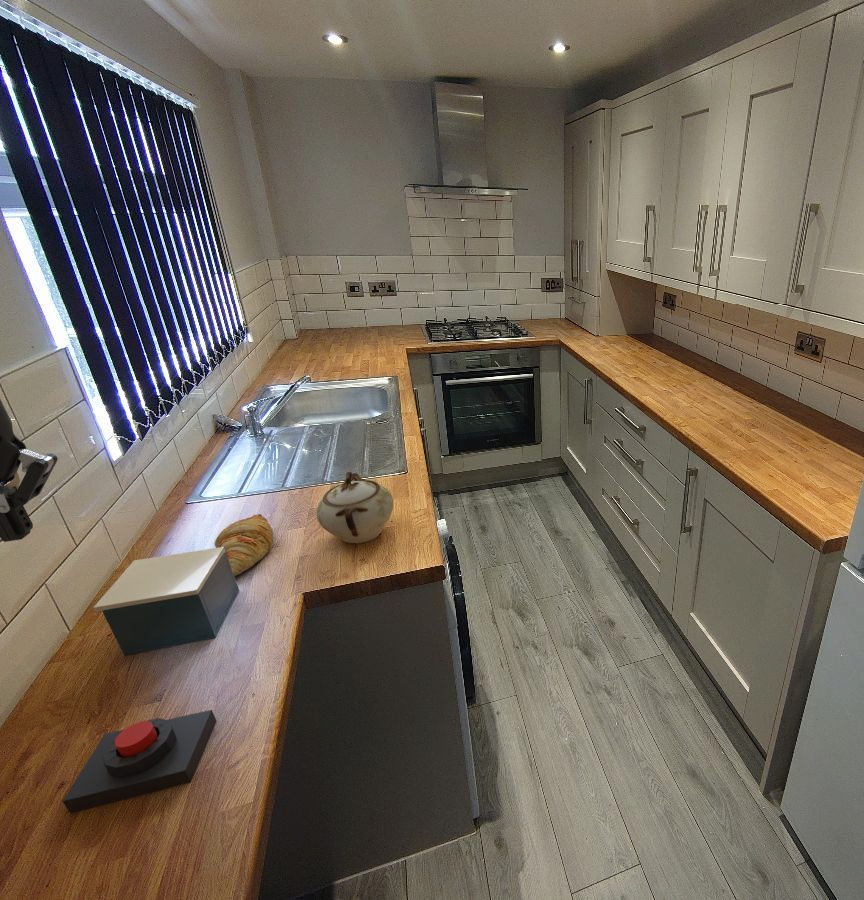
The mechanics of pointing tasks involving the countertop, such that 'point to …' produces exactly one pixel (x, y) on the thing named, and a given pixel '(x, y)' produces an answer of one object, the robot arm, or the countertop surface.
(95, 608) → the box lid
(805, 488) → the countertop surface
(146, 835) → the countertop surface
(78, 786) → the switch block
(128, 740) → the button
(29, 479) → the robot arm
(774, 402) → the countertop surface
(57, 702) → the countertop surface
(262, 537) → the croissant
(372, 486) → the sugar bowl
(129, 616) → the dark rectangular box
